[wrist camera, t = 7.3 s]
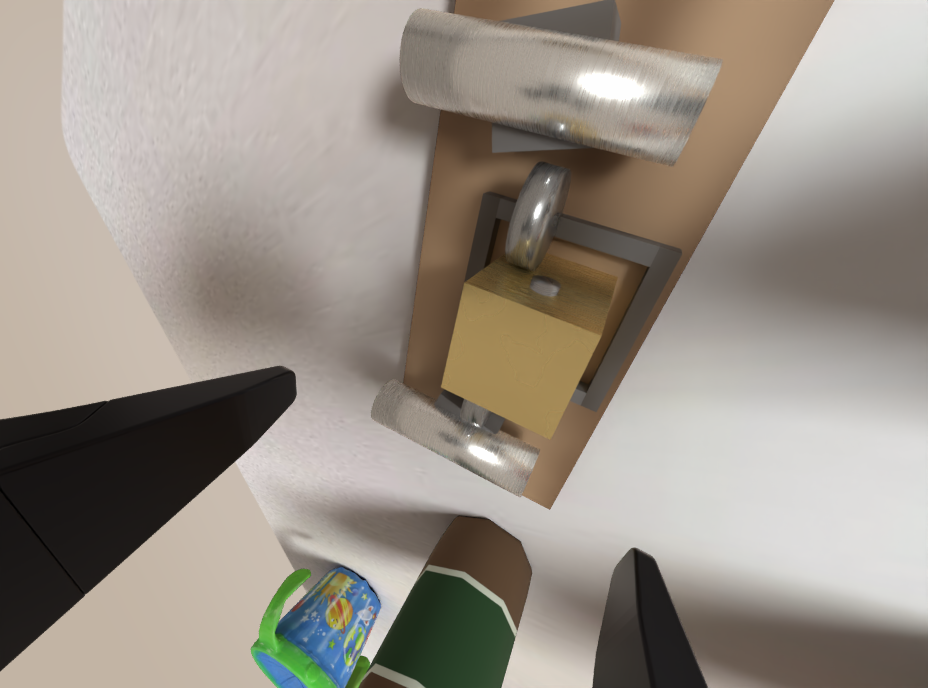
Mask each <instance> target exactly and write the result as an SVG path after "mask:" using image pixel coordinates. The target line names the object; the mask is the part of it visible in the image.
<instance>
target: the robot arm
mask: <svg viewBox="0 0 928 688" xmlns="http://www.w3.org/2000/svg"><path fill="white" fill-rule="evenodd" d="M296 395H297V390H296V376H295V373H294V372H293V371H292V370H290V369H288V368H286V367H284V366H275V367H270V368H265V369H260V370H255V371H250V372H246V373H241V374H236V375H231V376H226V377H221V378H216V379H211V380H206V381H201V382H196V383H191V384H187V385H182V386H177V387H171V388H167V389H162V390H157V391H152V392H147V393H142V394H137V395H133V396H127V397H122V398H117V399H112V400H110V401H102V402H98V403H92V404H88V405H82V406H77V407H72V408H66V409H61V410H56V411H51V412H45V413H38V414H32V415H26V416H20V417H14V418H7V419H0V671H1V670H2V669H3V668H5V667H6V666H7V665H8V664H9V663H10V662H11V661H12V660H14V659H15V658H16V657H17V656H18V655H19V654H20V653H21V652H22V651H24V650H25V649H26V648H27V647H28V646H29V645H30V644H31V643H33V642H34V641H35V640H36V639H37V638H38V637H39V636H40V635H42V634H43V633H44V632H45V631H46V630H47V629H48V628H49V627H51V626H52V625H53V624H54V623H55V622H56V621H57V620H58V619H59V618H61V617H62V616H63V615H64V614H65V613H66V612H67V611H68V610H70V609H71V608H72V607H73V606H74V605H75V604H76V603H77V602H79V601H80V600H81V599H82V598H83V597H84V596H85V594H87V593H88V592H89V591H91V590H92V589H93V588H94V587H95V586H96V585H97V584H98V583H100V582H101V581H102V580H103V579H104V578H105V577H106V576H107V575H108V574H110V573H111V572H112V571H113V570H114V569H115V568H116V567H117V566H119V565H120V564H121V563H122V562H123V561H124V560H125V559H126V558H128V557H129V556H130V555H131V554H132V553H133V552H134V551H135V550H136V549H138V548H139V547H140V546H141V545H142V544H143V543H144V542H145V541H147V540H148V539H149V538H150V537H151V536H152V535H153V534H154V533H156V532H157V531H158V530H159V529H160V528H161V527H162V526H163V525H165V524H166V523H167V522H168V521H169V520H170V519H171V518H172V517H173V516H175V515H176V514H177V513H178V512H179V511H180V510H181V509H182V508H184V507H185V506H186V505H187V504H188V503H189V502H190V501H191V500H192V499H194V498H195V497H196V496H197V495H198V494H199V493H200V492H201V491H202V490H204V489H205V488H206V487H207V486H208V485H209V484H210V483H211V482H213V481H214V480H215V479H216V478H217V477H218V476H219V475H220V474H222V473H223V472H224V471H225V470H226V469H227V468H228V467H229V466H231V465H232V464H233V463H234V462H235V461H236V460H237V459H238V458H240V457H241V456H242V455H243V454H244V453H245V452H246V451H247V450H248V449H249V448H251V447H252V446H253V445H254V444H255V443H256V442H257V441H258V440H259V439H260V438H261V436H262V435H263V434H264V433H265V432H266V431H267V430H268V429H269V428H270V427H271V426H272V425H273V424H274V423H275V421H276V420H277V419H278V418H279V417H280V416H281V415H282V414H283V413H284V412H285V411H286V410H287V409H288V407H289V406H290V405H291V404H292V403H293V402H294V400H295V398H296ZM592 688H708V686H707V684H706V681H705V679H704V676H703V674H702V672H701V669H700V667H699V664H698V662H697V659H696V657H695V655H694V652H693V650H692V647H691V645H690V643H689V640H688V638H687V635H686V633H685V630H684V628H683V626H682V623H681V621H680V618H679V616H678V613H677V611H676V609H675V606H674V604H673V601H672V599H671V596H670V594H669V592H668V589H667V587H666V584H665V582H664V579H663V577H662V575H661V572H660V570H659V567H658V565H657V563H656V561H655V559H654V558H653V557H652V556H651V555H649V554H647V553H645V552H643V551H641V550H639V549H638V548H631V549H630V550H629V551H628V552H627V554H626V555H625V556H624V557H623V558H622V559H621V561H620V562H619V563H618V564H617V566H616V567H615V569H614V572H613V575H612V579H611V584H610V588H609V593H608V598H607V603H606V607H605V612H604V617H603V621H602V626H601V631H600V636H599V641H598V646H597V651H596V659H595V667H594V677H593V687H592Z"/></svg>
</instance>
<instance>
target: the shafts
mask: <svg viewBox="0 0 928 688" xmlns="http://www.w3.org/2000/svg"><path fill="white" fill-rule="evenodd" d="M722 63H723V59H719V58H713V57H707V56H701V55H695V54H690V53H684V52H678V51H672V50H666V49H660V48H654V47H648V46H642V45H636V44H630V43H624V42H618V41H613V40H607V39H601V38H595V37H589V36H583V35H577V34H571V33H565V32H559V31H553V30H547V29H541V28H536V27H530V26H524V25H518V24H512V23H506V22H500V21H494V20H488V19H482V18H476V17H470V16H464V15H459V14H453V13H447V12H441V11H435V10H429V9H422V8H420V9H417V10H416V11H414V12H413V13H412V15H411V16H410V18H409V19H408V21H407V24H406V26H405V29H404V32H403V36H402V41H401V48H400V73H401V79H402V84H403V87H404V90H405V92H406V94H407V96H408V98H409V99H410V100H411V101H412V102H414V103H416V104H420V105H424V106H428V107H432V108H436V109H440V110H444V111H448V112H453V113H457V114H461V115H465V116H469V117H473V118H477V119H481V120H485V121H489V122H493V123H497V124H501V125H505V126H509V127H513V128H517V129H521V130H525V131H529V132H533V133H537V134H541V135H545V136H549V137H553V138H558V139H562V140H566V141H570V142H574V143H578V144H582V145H586V146H590V147H594V148H598V149H602V150H606V151H610V152H614V153H618V154H622V155H626V156H630V157H634V158H638V159H642V160H646V161H650V162H654V163H658V164H663V165H667V166H671V167H673V166H674V165H675V163H676V162H677V160H678V158H679V156H680V154H681V152H682V150H683V148H684V146H685V145H686V143H687V141H688V139H689V137H690V134H691V132H692V130H693V128H694V126H695V124H696V122H697V120H698V118H699V116H700V114H701V111H702V109H703V107H704V105H705V103H706V101H707V98H708V96H709V94H710V92H711V90H712V87H713V85H714V83H715V80H716V78H717V76H718V73H719V71H720V68H721V66H722ZM570 182H571V170H570V169H568V168H564V167H561V166H557V165H553V164H549V163H546V162H542V161H540V162H538V163H537V164H536V165H535V166H534V167H533V169H532V170H531V172H530V173H529V175H528V177H527V179H526V181H525V183H524V185H523V187H522V190H521V192H520V194H519V197H518V199H517V202H516V205H515V208H514V211H513V214H512V218H511V221H510V225H509V229H508V234H507V239H506V247H505V257H506V261H507V262H509V263H511V264H514V265H517V266H520V267H523V268H526V269H528V270H531V271H535V270H536V269H537V268H538V267H539V265H540V264H541V262H542V260H543V259H544V257H545V255H546V253H547V251H548V249H549V246H550V244H551V242H552V240H553V237H554V235H555V232H556V230H557V227H558V224H559V221H560V219H561V216H562V213H563V210H564V206H565V203H566V199H567V196H568V192H569V187H570ZM435 402H436V399H434V398H432V397H430V396H428V395H426V394H424V393H422V392H420V391H418V390H416V389H414V388H411V387H409V386H407V385H405V384H403V383H401V382H399V381H397V380H395V379H393V380H390V381H389V382H387V383H386V384H385V385H384V386H383V388H382V389H381V390H380V392H379V393H378V395H377V397H376V399H375V401H374V404H373V407H372V411H371V418H372V420H374V421H376V422H377V423H379V424H381V425H383V426H385V427H387V428H389V429H391V430H393V431H395V432H397V433H398V434H400V435H402V436H404V437H406V438H408V439H410V440H412V441H414V442H416V443H417V444H419V445H421V446H423V447H425V448H427V449H429V450H431V451H433V452H435V453H436V454H438V455H440V456H442V457H444V458H446V459H448V460H450V461H452V462H454V463H456V464H457V465H459V466H461V467H463V468H465V469H467V470H469V471H471V472H473V473H475V474H476V475H478V476H480V477H482V478H484V479H486V480H488V481H490V482H492V483H494V484H495V485H497V486H499V487H501V488H503V489H505V490H507V491H509V492H511V493H513V494H514V495H516V496H518V497H521V495H522V493H523V491H524V489H525V487H526V485H527V482H528V480H529V478H530V475H531V473H532V470H533V468H534V466H535V463H536V460H537V458H538V455H539V452H540V449H538V448H536V447H534V446H532V445H530V444H528V443H526V442H523V441H521V440H519V439H517V438H515V437H513V436H511V435H509V434H507V433H505V432H503V431H501V430H499V432H498V433H497V434H493V433H491V432H489V431H487V430H485V429H483V428H482V427H483V426H484V425H485V423H486V422H487V420H488V418H489V417H490V415H491V413H492V412H491V411H489V410H487V409H485V408H483V407H481V406H479V405H477V404H474V403H472V402H470V401H468V400H466V399H464V401H463V404H462V408H461V413H460V417H458V416H456V415H454V414H452V413H450V412H448V411H446V410H444V409H442V408H440V407H438V406H436V405H434V404H435Z"/></svg>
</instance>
